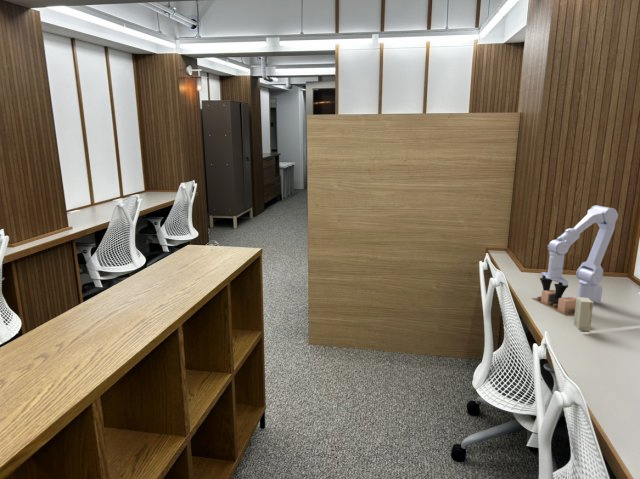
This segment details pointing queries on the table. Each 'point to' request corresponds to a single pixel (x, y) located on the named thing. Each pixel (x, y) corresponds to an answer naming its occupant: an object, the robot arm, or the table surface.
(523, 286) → the table surface
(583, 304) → the skincare box
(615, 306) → the table surface
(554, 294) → the peach rectangular block
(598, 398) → the table surface
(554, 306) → the walnut rack
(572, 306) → the pink block
